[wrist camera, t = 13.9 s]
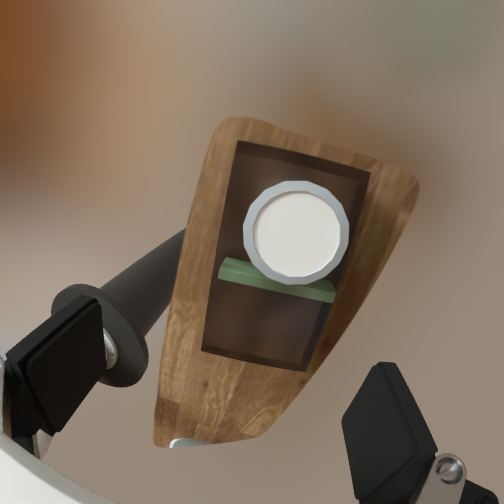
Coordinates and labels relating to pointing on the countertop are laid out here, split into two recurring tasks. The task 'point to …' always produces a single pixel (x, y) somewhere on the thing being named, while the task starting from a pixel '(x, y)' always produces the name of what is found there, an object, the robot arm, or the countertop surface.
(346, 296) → the countertop surface
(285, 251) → the white cylinder
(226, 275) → the tray
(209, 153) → the countertop surface
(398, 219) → the countertop surface
